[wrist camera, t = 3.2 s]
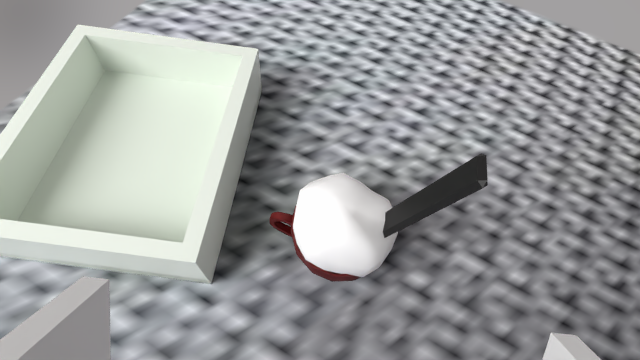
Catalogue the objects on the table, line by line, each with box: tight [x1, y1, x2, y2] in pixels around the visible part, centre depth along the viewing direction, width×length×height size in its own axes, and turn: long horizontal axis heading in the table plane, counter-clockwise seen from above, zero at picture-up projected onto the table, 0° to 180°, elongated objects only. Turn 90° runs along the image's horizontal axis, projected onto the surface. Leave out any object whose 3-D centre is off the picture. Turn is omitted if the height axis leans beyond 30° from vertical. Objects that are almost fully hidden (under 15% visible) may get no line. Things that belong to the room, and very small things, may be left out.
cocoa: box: [269, 154, 487, 281], centre depth 20 cm, size 10×6×12 cm, turn 57°
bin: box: [0, 25, 262, 284], centre depth 26 cm, size 14×17×4 cm
